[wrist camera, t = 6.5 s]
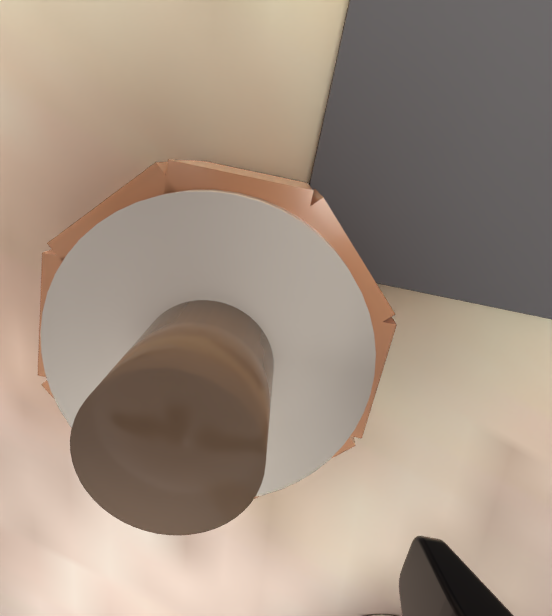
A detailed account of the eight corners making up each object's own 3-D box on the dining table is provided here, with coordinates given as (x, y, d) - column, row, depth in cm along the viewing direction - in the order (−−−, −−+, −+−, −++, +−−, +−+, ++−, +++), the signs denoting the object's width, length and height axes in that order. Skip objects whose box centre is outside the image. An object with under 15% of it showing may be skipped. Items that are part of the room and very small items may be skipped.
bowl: (389, 200, 16) (430, 215, 12) (325, 430, 19) (337, 517, 15) (119, 143, 16) (46, 133, 11) (98, 386, 19) (34, 460, 14)
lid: (407, 225, 12) (487, 268, 7) (329, 500, 14) (349, 666, 10) (65, 158, 11) (-97, 153, 7) (53, 450, 14) (-66, 595, 9)
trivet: (850, -95, 13) (875, -107, 13) (639, 333, 18) (650, 339, 17) (394, -205, 13) (399, -223, 12) (292, 262, 17) (292, 265, 17)
